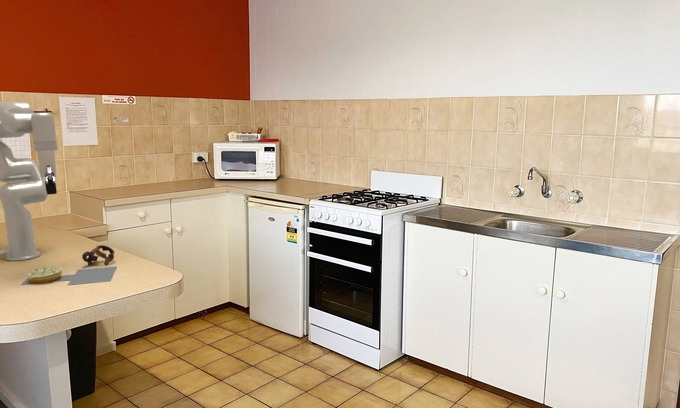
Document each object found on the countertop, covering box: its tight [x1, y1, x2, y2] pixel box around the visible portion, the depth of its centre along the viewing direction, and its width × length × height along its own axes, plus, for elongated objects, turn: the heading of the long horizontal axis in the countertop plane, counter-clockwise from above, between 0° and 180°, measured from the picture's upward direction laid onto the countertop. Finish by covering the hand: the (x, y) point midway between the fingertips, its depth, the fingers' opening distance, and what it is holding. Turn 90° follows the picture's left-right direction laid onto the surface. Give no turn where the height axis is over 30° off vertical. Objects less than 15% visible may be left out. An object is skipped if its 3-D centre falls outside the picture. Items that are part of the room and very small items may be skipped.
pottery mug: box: [81, 244, 115, 266], centre depth 210 cm, size 12×10×8 cm
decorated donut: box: [27, 266, 63, 284], centre depth 191 cm, size 10×11×4 cm
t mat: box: [21, 265, 118, 286], centre depth 194 cm, size 30×19×1 cm, turn 106°
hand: (51, 192), depth 198 cm, fingers open, 9 cm apart
